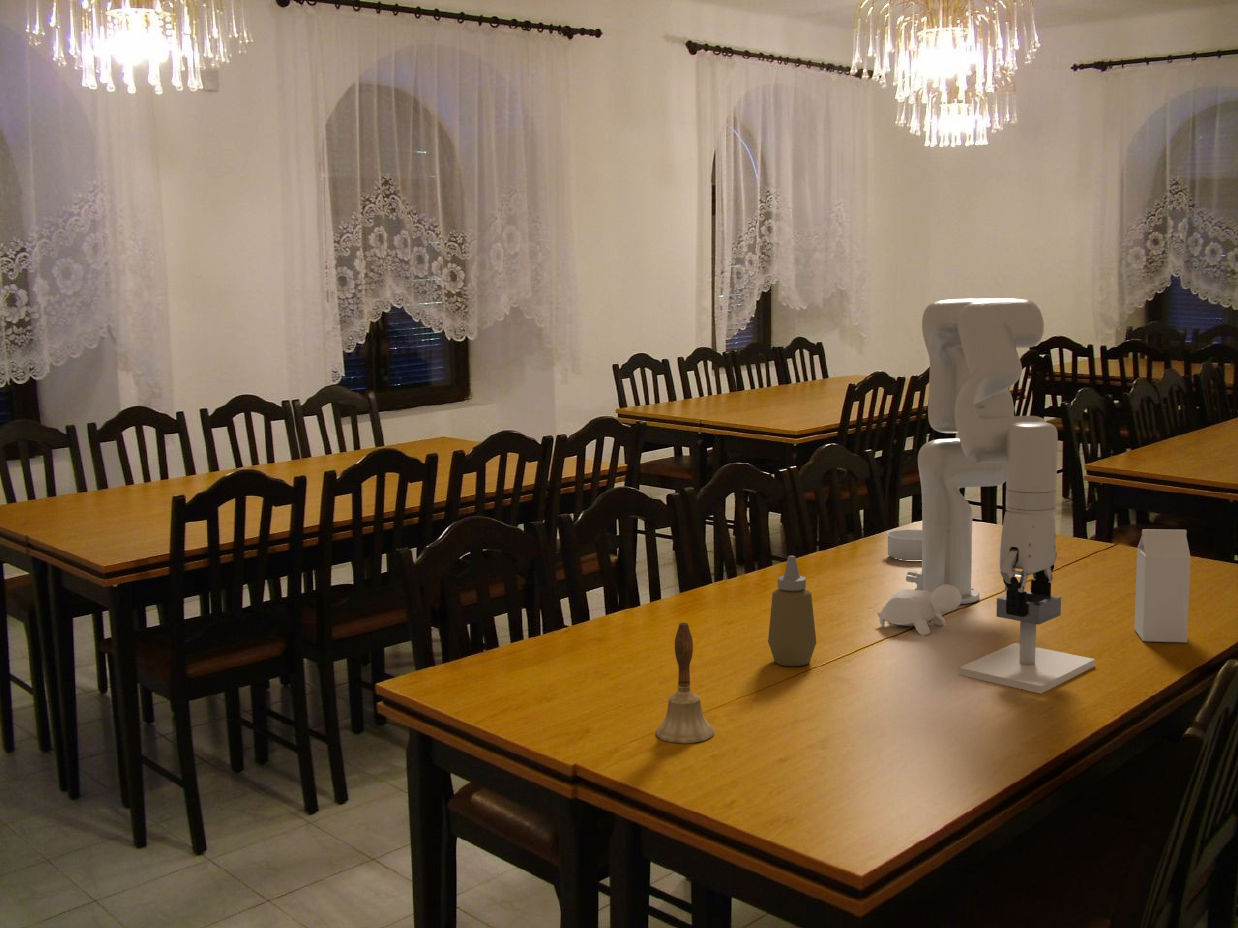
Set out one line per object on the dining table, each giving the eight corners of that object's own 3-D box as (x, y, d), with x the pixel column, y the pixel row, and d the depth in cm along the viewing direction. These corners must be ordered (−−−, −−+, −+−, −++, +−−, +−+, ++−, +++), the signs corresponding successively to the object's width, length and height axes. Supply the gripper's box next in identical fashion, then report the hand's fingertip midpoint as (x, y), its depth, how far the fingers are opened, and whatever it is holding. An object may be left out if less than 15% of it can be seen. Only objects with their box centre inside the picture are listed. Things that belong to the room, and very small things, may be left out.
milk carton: (1187, 643, 210) (1191, 534, 208) (1142, 642, 212) (1146, 533, 209) (1177, 631, 217) (1181, 525, 215) (1134, 630, 219) (1137, 525, 216)
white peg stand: (958, 674, 197) (959, 616, 196) (1014, 649, 209) (1015, 595, 208) (1041, 693, 187) (1042, 633, 186) (1094, 666, 199) (1096, 609, 198)
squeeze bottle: (820, 656, 208) (820, 552, 206) (812, 671, 201) (811, 563, 198) (773, 653, 211) (772, 550, 208) (763, 667, 203) (762, 560, 201)
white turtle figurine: (884, 645, 224) (958, 627, 215) (868, 601, 225) (941, 581, 216) (904, 634, 231) (977, 616, 221) (889, 591, 232) (961, 571, 222)
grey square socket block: (996, 616, 197) (996, 598, 197) (1018, 607, 202) (1019, 589, 202) (1038, 624, 192) (1039, 605, 191) (1060, 615, 197) (1061, 596, 196)
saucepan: (952, 572, 266) (953, 546, 265) (875, 558, 280) (875, 534, 280) (981, 563, 273) (981, 538, 273) (905, 550, 288) (905, 527, 287)
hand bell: (652, 724, 179) (650, 617, 176) (709, 721, 179) (707, 614, 177) (659, 745, 170) (656, 633, 168) (719, 742, 171) (717, 630, 169)
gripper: (1035, 490, 203) (1032, 596, 205) (980, 505, 191) (979, 617, 194) (1079, 495, 198) (1076, 603, 200) (1025, 511, 186) (1023, 625, 188)
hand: (1028, 609), depth 197 cm, fingers closed on grey square socket block, 7 cm apart
